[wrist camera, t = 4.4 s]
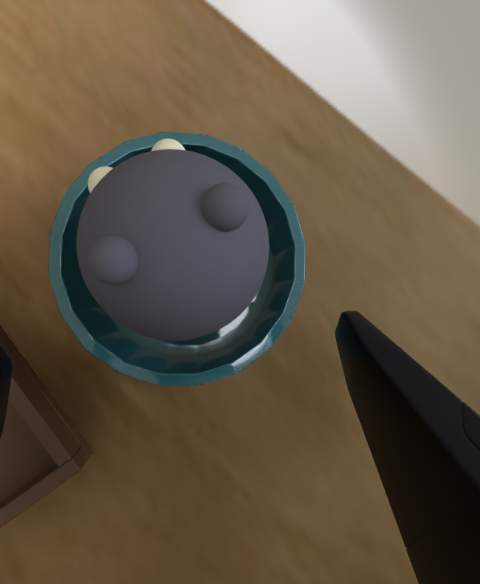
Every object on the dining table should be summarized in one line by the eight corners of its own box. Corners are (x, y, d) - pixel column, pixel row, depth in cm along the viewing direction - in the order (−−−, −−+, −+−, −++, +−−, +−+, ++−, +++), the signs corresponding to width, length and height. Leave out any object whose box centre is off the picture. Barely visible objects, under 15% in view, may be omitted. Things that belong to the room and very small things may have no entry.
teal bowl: (120, 388, 19) (92, 420, 14) (62, 201, 19) (14, 167, 14) (302, 330, 20) (334, 341, 15) (249, 153, 20) (265, 106, 15)
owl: (262, 292, 20) (338, 287, 9) (159, 345, 19) (107, 408, 8) (211, 191, 19) (226, 58, 9) (106, 240, 19) (-20, 164, 8)
